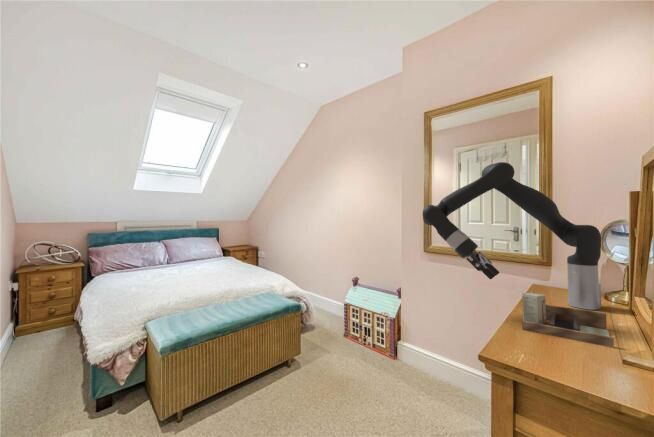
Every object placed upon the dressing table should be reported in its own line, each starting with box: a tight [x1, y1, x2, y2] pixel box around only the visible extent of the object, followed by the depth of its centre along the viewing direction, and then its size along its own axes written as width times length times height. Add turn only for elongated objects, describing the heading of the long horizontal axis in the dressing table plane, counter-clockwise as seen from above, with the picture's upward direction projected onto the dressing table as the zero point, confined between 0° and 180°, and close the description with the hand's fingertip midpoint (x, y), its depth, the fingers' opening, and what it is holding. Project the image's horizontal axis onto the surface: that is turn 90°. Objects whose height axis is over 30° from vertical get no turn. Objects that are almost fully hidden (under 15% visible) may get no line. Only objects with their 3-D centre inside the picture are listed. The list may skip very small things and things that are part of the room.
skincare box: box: [521, 291, 547, 325], centre depth 94 cm, size 5×4×10 cm
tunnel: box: [521, 303, 615, 348], centre depth 89 cm, size 20×18×5 cm
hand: (495, 276), depth 101 cm, fingers open, 8 cm apart
